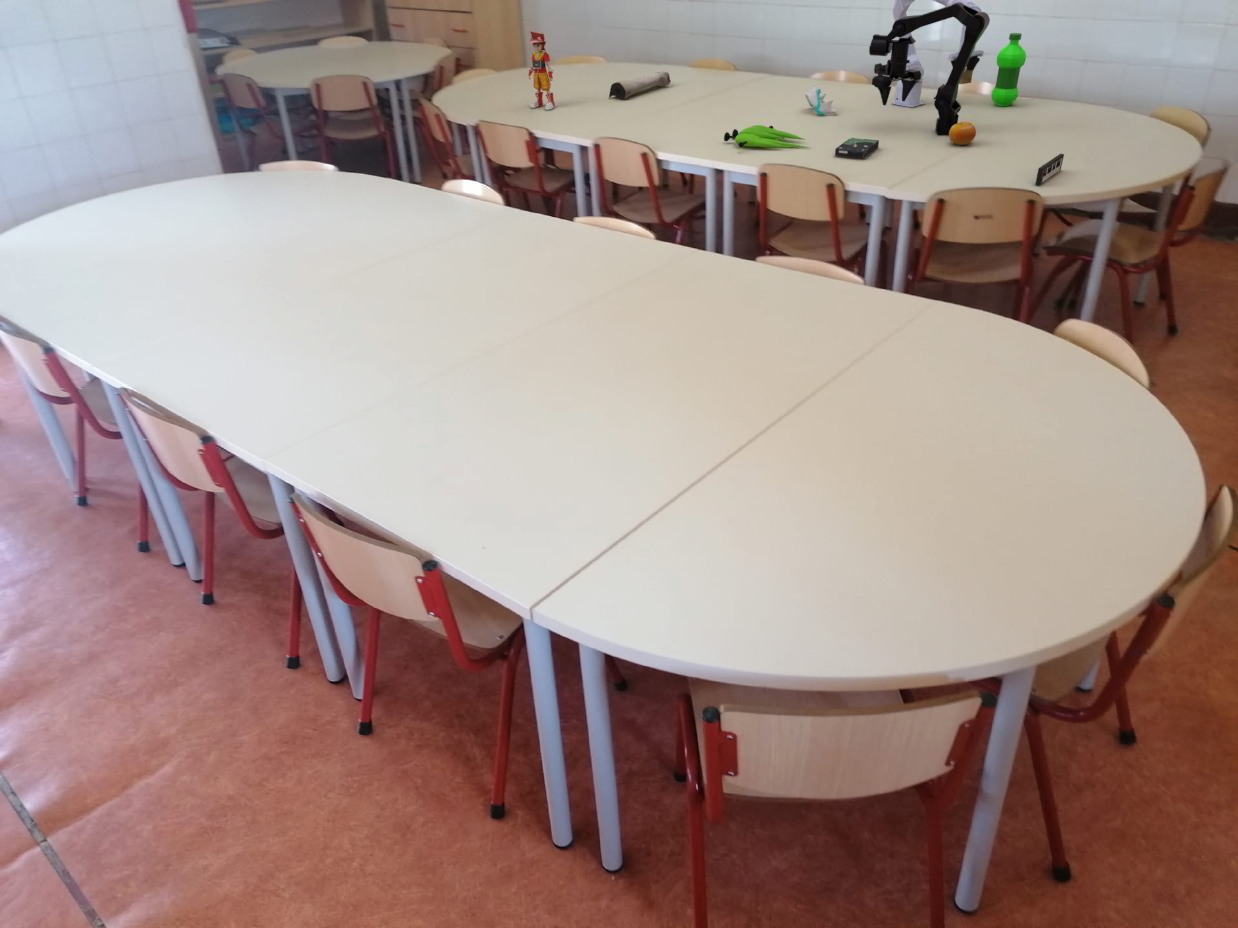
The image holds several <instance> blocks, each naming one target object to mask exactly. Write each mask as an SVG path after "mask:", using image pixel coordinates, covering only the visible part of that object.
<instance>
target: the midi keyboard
mask: <svg viewBox="0 0 1238 928" xmlns="http://www.w3.org/2000/svg"><path fill="white" fill-rule="evenodd" d="M1064 157H1065V153H1059V154H1058V155H1056V156H1055V157H1052V159H1051V160H1049V161H1047V162H1045V164H1042V165H1041V166H1039V167H1038V169H1037V175H1036V179H1035V186H1040V185H1042V183H1044V182H1045V181H1047V180H1048V179H1049V178H1051V177H1052V176H1054V175H1055V174H1056V173H1058V172H1060V171H1061V170H1062V165H1063V161H1064Z"/></svg>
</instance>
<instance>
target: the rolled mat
mask: <svg viewBox="0 0 1238 928" xmlns="http://www.w3.org/2000/svg"><path fill="white" fill-rule="evenodd" d="M671 83H672V81H671V77H670V74H669V72H668V71H658V72H654V73H649V74H645V75H640V76H637V77H633V78H628V79H623V80H620V81H616V82H613V83H612V84H611V85H610V89H609V95H608V97H609V98H611V97H616V99H620V100H622V101H623V100H626V99H627V98H629V97H630V96H632V95H635V94H636V93H638V92H640V91H643V90H644V89H647V88H650V87H655V86H658V87H659V86H661V87H665V86H669V85H670V84H671Z"/></svg>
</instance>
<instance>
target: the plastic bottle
mask: <svg viewBox="0 0 1238 928" xmlns="http://www.w3.org/2000/svg"><path fill="white" fill-rule="evenodd" d="M1008 40H1009V43H1008V44H1007V45H1006V46H1004V47H1003V48H1002V49H1000V50H999V52H998V53H997V55H996V65H997V67H998V69H997V75H996V81H995V82H996V83H995V86H994V87H993V89H992V90H991V100H992V102H993V103H994V104H995V105H996V106H998V107H1009V106H1011V105H1012V104H1013V103H1014V102H1016V100H1017V99H1018V96H1019V90H1018V83H1019V79H1020V78H1019V77H1020V74H1021V73H1020V72H1021V68H1022V67H1023V66H1024V65H1025V63H1026V59H1027V54H1026V53H1027V52H1026V50H1025V49H1024V48H1023V47H1022V46H1021V45H1020V43H1019V42H1020V41H1021V40H1022V33H1020V32H1011V33H1009V37H1008Z"/></svg>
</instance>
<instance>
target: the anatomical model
mask: <svg viewBox="0 0 1238 928" xmlns="http://www.w3.org/2000/svg"><path fill="white" fill-rule="evenodd" d="M821 93H822V91H821V89H820V88H819V87H818V86H817V85H815V86H813V88H812V90H810V91H807V92H805V93H804V94H805V95H804V97H805V98H806V100H807V102H808V104H809V106H810V107H811V108H813V109H815V112H816V114H817V115H818V116H825V115H827V114H834V115H835V114H837V112H838V110H837V109H833V108H832V107H831V106H832V104H833V103H834V100H833V99H830V100H827V101H826V102H825V101H824V98H825V97H826V95H827V94H826V93H823V94H822V95H820V94H821Z"/></svg>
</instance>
